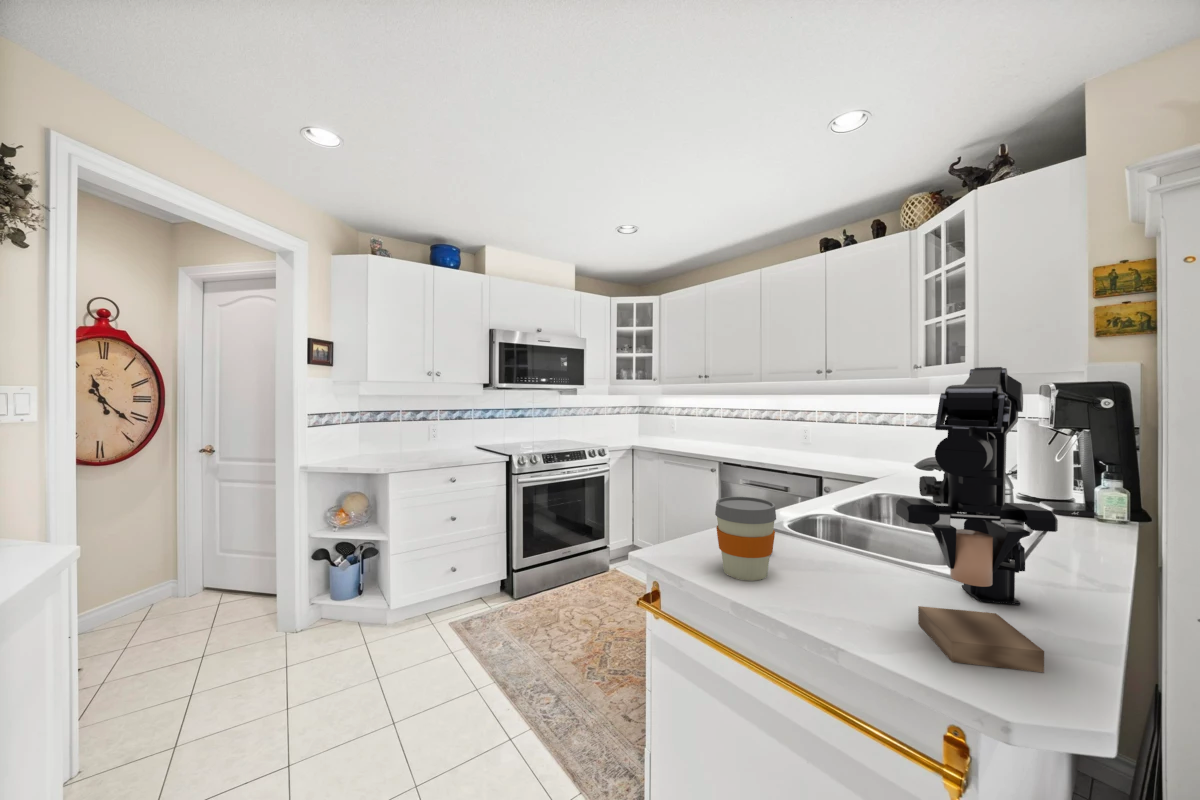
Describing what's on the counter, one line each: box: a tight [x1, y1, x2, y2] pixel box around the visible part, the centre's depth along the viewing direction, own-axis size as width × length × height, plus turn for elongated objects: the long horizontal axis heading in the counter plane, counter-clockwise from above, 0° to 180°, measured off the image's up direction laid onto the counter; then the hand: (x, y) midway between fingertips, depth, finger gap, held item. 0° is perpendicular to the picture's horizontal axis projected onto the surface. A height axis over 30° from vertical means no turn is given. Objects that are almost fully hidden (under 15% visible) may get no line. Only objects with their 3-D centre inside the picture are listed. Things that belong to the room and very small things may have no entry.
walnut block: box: [917, 605, 1045, 673], centre depth 70 cm, size 11×11×3 cm
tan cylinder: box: [949, 528, 993, 587], centre depth 70 cm, size 5×5×7 cm
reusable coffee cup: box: [714, 496, 777, 582], centre depth 99 cm, size 13×13×15 cm
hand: (970, 569), depth 70 cm, fingers closed on tan cylinder, 5 cm apart
